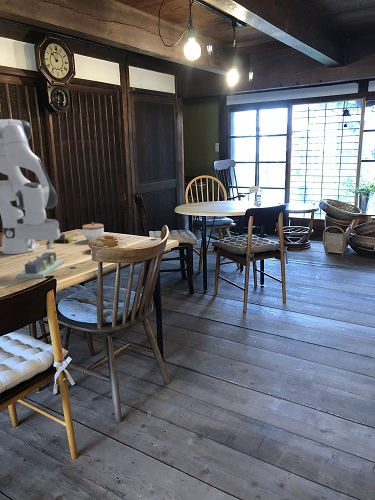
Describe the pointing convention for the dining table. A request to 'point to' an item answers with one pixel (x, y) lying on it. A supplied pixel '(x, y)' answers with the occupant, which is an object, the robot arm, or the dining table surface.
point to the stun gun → (62, 240)
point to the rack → (44, 270)
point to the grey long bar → (39, 263)
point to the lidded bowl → (92, 230)
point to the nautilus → (104, 241)
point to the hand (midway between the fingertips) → (39, 248)
